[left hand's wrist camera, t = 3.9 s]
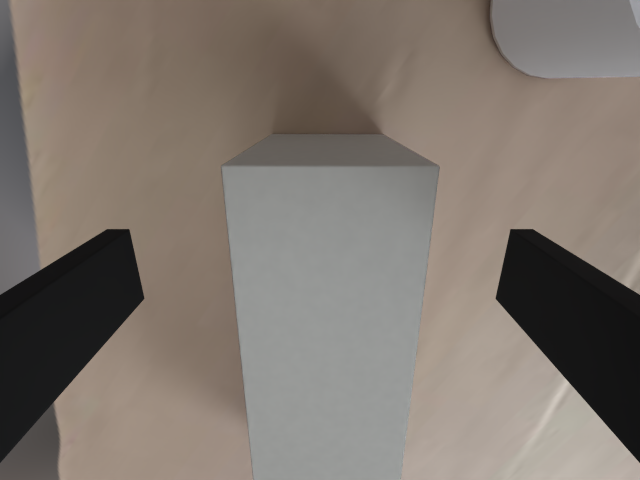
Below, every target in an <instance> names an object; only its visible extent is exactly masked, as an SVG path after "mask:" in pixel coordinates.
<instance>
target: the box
mask: <svg viewBox="0 0 640 480" xmlns="http://www.w3.org/2000/svg"><path fill="white" fill-rule="evenodd" d="M439 168H440V167H439V166H438V165H437V164H435V163H433V162H431V161H430V160H428V159H426V158H424V157H422V156H421V155H419V154H417V153H415V152H414V151H412V150H410V149H408V148H407V147H405V146H403V145H401V144H399V143H398V142H396V141H394V140H392V139H391V138H389V137H387V136H385V135H384V134H271V135H270V136H268V137H266V138H265V139H263V140H262V141H260V142H258V143H257V144H255V145H254V146H252V147H250V148H249V149H247V150H245V151H244V152H242V153H241V154H239V155H237V156H236V157H234V158H233V159H231V160H229V161H228V162H226V163H225V164H223V165H222V166H221V172H222V181H223V191H224V201H225V210H226V220H227V230H228V240H229V249H230V259H231V269H232V278H233V288H234V298H235V308H236V317H237V327H238V337H239V346H240V356H241V366H242V376H243V385H244V395H245V405H246V414H247V424H248V434H249V443H250V453H251V463H252V473H253V480H401V473H402V465H403V457H404V449H405V441H406V433H407V425H408V417H409V409H410V401H411V393H412V385H413V377H414V368H415V360H416V352H417V344H418V336H419V328H420V320H421V312H422V304H423V296H424V288H425V280H426V272H427V264H428V256H429V248H430V240H431V232H432V224H433V216H434V208H435V200H436V192H437V184H438V176H439Z"/></svg>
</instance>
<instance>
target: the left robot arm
mask: <svg viewBox="0 0 640 480" xmlns="http://www.w3.org/2000/svg"><path fill="white" fill-rule="evenodd" d="M143 300H144V295H143V290H142V285H141V281H140V276H139V272H138V267H137V262H136V258H135V253H134V248H133V244H132V239H131V235H130V230H129V229H107V230H105V231H104V232H102V233H100V234H99V235H97V236H95V237H94V238H92V239H91V240H89V241H87V242H86V243H84V244H82V245H81V246H79V247H77V248H76V249H74V250H73V251H71V252H69V253H68V254H66V255H64V256H63V257H61V258H60V259H58V260H56V261H55V262H53V263H51V264H50V265H48V266H47V267H45V268H43V269H42V270H40V271H38V272H37V273H35V274H34V275H32V276H30V277H29V278H27V279H25V280H24V281H22V282H21V283H19V284H17V285H16V286H14V287H12V288H11V289H9V290H8V291H6V292H4V293H3V294H1V295H0V462H1V461H2V460H3V459H4V458H5V457H6V456H7V454H8V453H9V452H10V451H11V450H12V449H13V448H14V447H15V445H16V444H17V443H18V442H19V441H20V440H21V439H22V437H23V436H24V435H25V434H26V433H27V432H28V431H29V429H30V428H31V427H32V426H33V425H34V424H35V423H36V421H37V420H38V419H39V418H40V417H41V416H42V415H43V413H44V412H45V411H46V410H47V409H48V408H49V407H50V405H51V404H52V403H53V402H54V401H55V400H56V399H57V398H58V396H59V395H60V394H61V393H62V392H63V391H64V390H65V388H66V387H67V386H68V385H69V384H70V383H71V382H72V380H73V379H74V378H75V377H76V376H77V375H78V374H79V372H80V371H81V370H82V369H83V368H84V367H85V366H86V364H87V363H88V362H89V361H90V360H91V359H92V358H93V357H94V355H95V354H96V353H97V352H98V351H99V350H100V349H101V347H102V346H103V345H104V344H105V343H106V342H107V341H108V339H109V338H110V337H111V336H112V335H113V334H114V333H115V331H116V330H117V329H118V328H119V327H120V326H121V325H122V323H123V322H124V321H125V320H126V319H127V318H128V317H129V315H130V314H131V313H132V312H133V311H134V310H135V309H136V308H137V306H138V305H139V304H140V303H141V302H142V301H143ZM496 300H497V301H498V302H499V303H500V304H501V305H502V306H503V308H504V309H505V310H506V311H507V312H508V313H509V314H510V315H511V317H512V318H513V319H514V320H515V321H516V322H517V323H518V325H519V326H520V327H521V328H522V329H523V330H524V331H525V333H526V334H527V335H528V336H529V337H530V338H531V339H532V341H533V342H534V343H535V344H536V345H537V346H538V347H539V349H540V350H541V351H542V352H543V353H544V354H545V355H546V357H547V358H548V359H549V360H550V361H551V362H552V363H553V364H554V366H555V367H556V368H557V369H558V370H559V371H560V372H561V374H562V375H563V376H564V377H565V378H566V379H567V380H568V382H569V383H570V384H571V385H572V386H573V387H574V388H575V390H576V391H577V392H578V393H579V394H580V395H581V396H582V398H583V399H584V400H585V401H586V402H587V403H588V404H589V405H590V407H591V408H592V409H593V410H594V411H595V412H596V413H597V415H598V416H599V417H600V418H601V419H602V420H603V421H604V423H605V424H606V425H607V426H608V427H609V428H610V429H611V431H612V432H613V433H614V434H615V435H616V436H617V437H618V439H619V440H620V441H621V442H622V443H623V444H624V445H625V447H626V448H627V449H628V450H629V451H630V452H631V453H632V454H633V456H634V457H635V458H636V459H637V460H638V461H639V462H640V295H639V294H637V293H636V292H634V291H632V290H631V289H629V288H628V287H626V286H624V285H623V284H621V283H619V282H618V281H616V280H615V279H613V278H611V277H610V276H608V275H606V274H605V273H603V272H602V271H600V270H598V269H597V268H595V267H593V266H592V265H590V264H589V263H587V262H585V261H584V260H582V259H580V258H579V257H577V256H576V255H574V254H572V253H571V252H569V251H567V250H566V249H564V248H563V247H561V246H559V245H558V244H556V243H554V242H553V241H551V240H549V239H548V238H546V237H545V236H543V235H541V234H540V233H538V232H536V231H535V230H533V229H511V230H510V235H509V239H508V244H507V248H506V253H505V258H504V262H503V267H502V272H501V276H500V281H499V285H498V290H497V295H496Z"/></svg>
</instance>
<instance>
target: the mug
mask: <svg viewBox="0 0 640 480" xmlns="http://www.w3.org/2000/svg"><path fill="white" fill-rule="evenodd" d="M490 23H491V29H492V35H493V38H494V41H495V43H496V45H497V47H498V49H499V51H500V54H501V55H502V56H503V57H504V58H505V59H506V60H507V61H508V63H509V64H510V65H511V66H512V67H513V68H515V69H517V70H519V71H521V72H522V73H524V74H526V75H529V76H534V77H539V78H544V79H545V78H596V77H640V0H491V4H490Z"/></svg>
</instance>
